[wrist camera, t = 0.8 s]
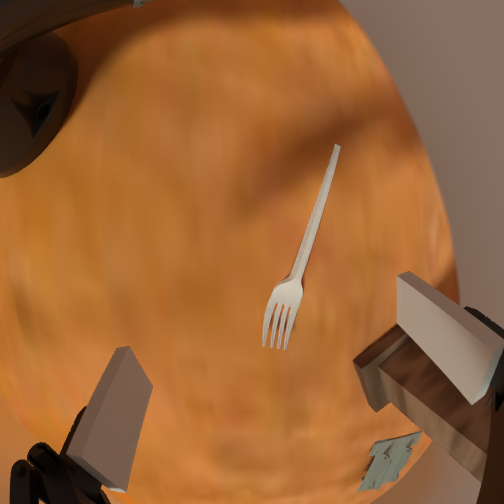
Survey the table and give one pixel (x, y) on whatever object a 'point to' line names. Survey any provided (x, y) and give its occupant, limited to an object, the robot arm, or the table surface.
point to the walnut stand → (426, 398)
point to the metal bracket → (388, 460)
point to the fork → (297, 267)
